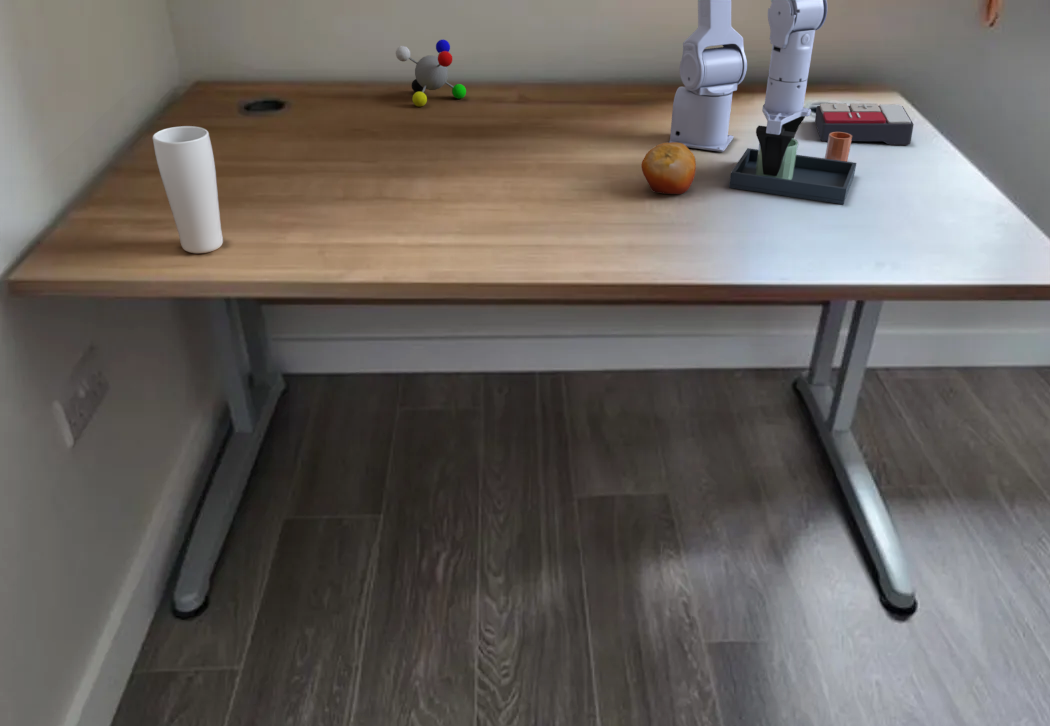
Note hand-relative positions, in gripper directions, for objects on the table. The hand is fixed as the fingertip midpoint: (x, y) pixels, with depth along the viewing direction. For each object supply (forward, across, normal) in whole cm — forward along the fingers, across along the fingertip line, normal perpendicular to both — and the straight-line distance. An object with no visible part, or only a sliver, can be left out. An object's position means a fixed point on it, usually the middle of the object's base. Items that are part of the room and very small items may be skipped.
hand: (774, 166), depth 151 cm
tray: (+2, 0, -3) cm, 4 cm away
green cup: (+2, 0, 0) cm, 2 cm away
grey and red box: (+2, +29, -10) cm, 31 cm away
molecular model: (+2, +17, +68) cm, 70 cm away
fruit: (+2, -11, +14) cm, 18 cm away
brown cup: (+2, +12, -8) cm, 15 cm away
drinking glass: (+2, -55, +65) cm, 85 cm away
